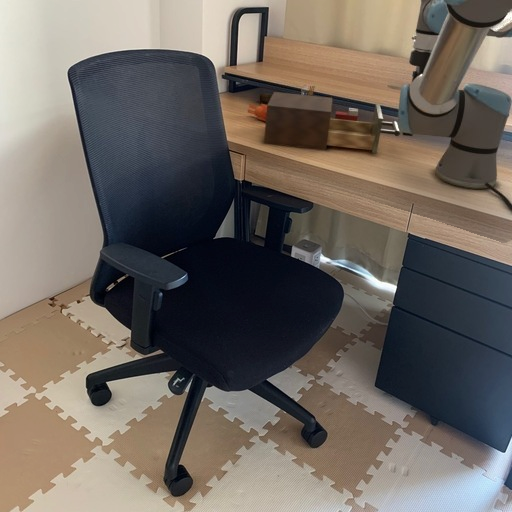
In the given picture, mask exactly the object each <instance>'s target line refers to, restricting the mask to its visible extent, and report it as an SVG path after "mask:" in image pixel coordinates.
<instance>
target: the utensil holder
mask: <svg viewBox="0 0 512 512" xmlns="http://www.w3.org/2000/svg"><path fill="white" fill-rule="evenodd" d="M301 87H302V88H304V87H305V95H307V94H308V95H309V96H314V95H313V94H314V91H315V85H310V86H309V89H308V87H307V85H302V86H301ZM300 93H301V94H300V95H303V89H301V92H300Z"/></svg>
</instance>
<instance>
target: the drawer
mask: <svg viewBox="0 0 512 512" xmlns="http://www.w3.org/2000/svg"><path fill="white" fill-rule="evenodd" d="M383 126H387V127H392V129H384V128H383ZM381 134H386V135H394V136H395V137H398V136H400V134H401V131H400V130H399V129H398V121H396V120H395V121H384V117H383V113H382V109H381V105H380V103H375V105H374V111H373V115H372V122H368V121H358V120H357V121H349V120H340V119H335V118H330V124H329V131H328V139H327V146H330V147H331V146H332V147H341V148H351V149H359V150H369V151H371V153H372V154H377V152H378V148H379V142H380V137H381Z"/></svg>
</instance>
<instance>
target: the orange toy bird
mask: <svg viewBox="0 0 512 512" xmlns="http://www.w3.org/2000/svg"><path fill="white" fill-rule="evenodd" d="M260 103H261V104H260V105H253V104H249V105H248V108H249V109H247V113H248V114H252V115H255V117H257V120H260V121H264V122H266V114H267V105H268V104H266V103H262V102H260ZM252 109H253V110H252Z"/></svg>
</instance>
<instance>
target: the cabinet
mask: <svg viewBox="0 0 512 512" xmlns="http://www.w3.org/2000/svg"><path fill="white" fill-rule="evenodd" d="M271 95H272V97H271V99H270V101H269V103H268V104H266V105H267V114H266V121H265V129H264V130H265V131H264V140H263V141H264V144H268V145H269V144H270V145H278V146H287V147H295V148H302V149H303V148H304V149H305V148H306V149H312V150H313V149H315V150H320V151H321V150H322V151H327V146H328V145H327V139H328V131H329V124H330V119H331V116H332V107H333V97H327V96H317V95H311V96H310V95H307V94H298V93H290V92H289V93H288V92H280V91H279V92H278V91H274V92H273V94H271Z"/></svg>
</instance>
